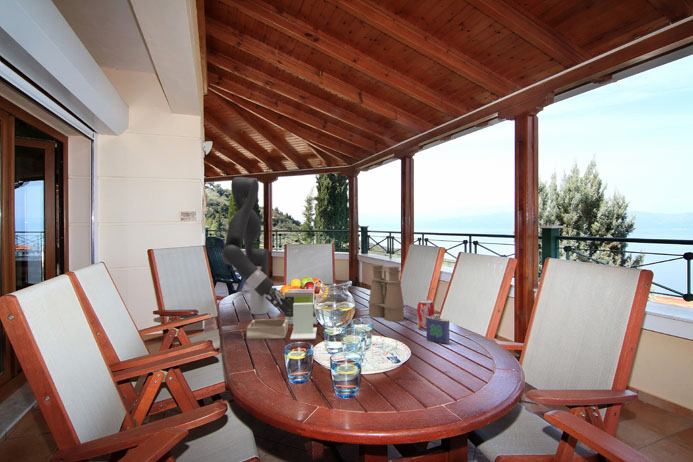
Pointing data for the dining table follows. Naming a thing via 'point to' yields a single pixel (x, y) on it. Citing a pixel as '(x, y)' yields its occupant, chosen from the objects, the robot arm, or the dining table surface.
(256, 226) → the robot arm
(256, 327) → the wooden box
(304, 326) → the cover plate
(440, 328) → the flask
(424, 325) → the soda can
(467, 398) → the dining table surface
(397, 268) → the binoculars
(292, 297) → the grey electronic device
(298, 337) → the grey mat
